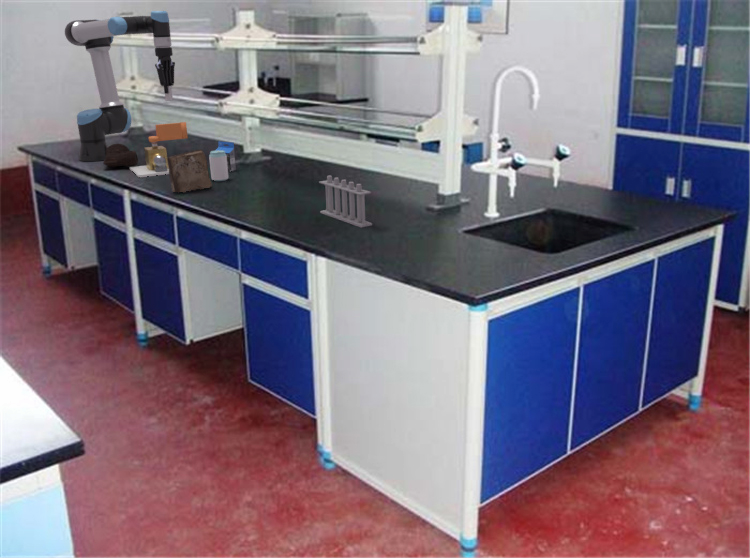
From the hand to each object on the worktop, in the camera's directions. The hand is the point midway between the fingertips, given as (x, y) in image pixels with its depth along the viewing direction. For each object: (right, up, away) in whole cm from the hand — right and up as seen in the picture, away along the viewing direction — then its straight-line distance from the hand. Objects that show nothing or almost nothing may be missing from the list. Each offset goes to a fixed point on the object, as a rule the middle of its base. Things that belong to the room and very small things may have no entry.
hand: (169, 100), depth 357 cm
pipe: (-22, -30, 0) cm, 37 cm away
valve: (-3, -33, -9) cm, 35 cm away
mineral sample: (+22, -47, -50) cm, 73 cm away
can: (+30, -41, -33) cm, 61 cm away
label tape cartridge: (+29, -34, -14) cm, 47 cm away
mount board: (-3, -33, -9) cm, 35 cm away
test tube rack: (+85, -62, -98) cm, 144 cm away
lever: (+3, -20, -11) cm, 23 cm away
